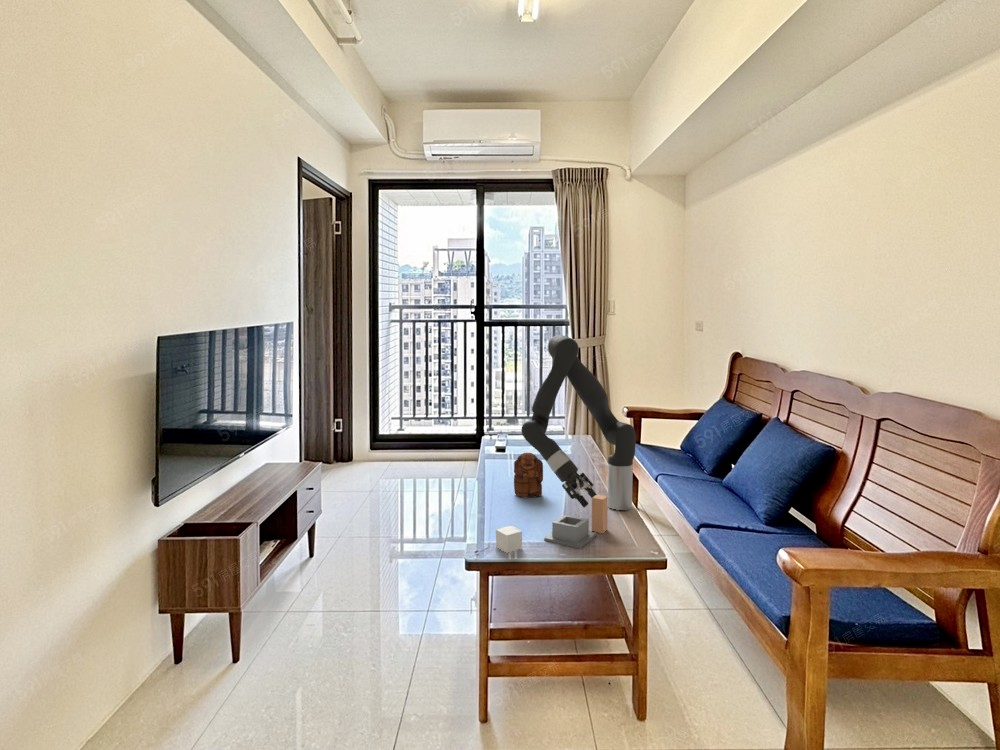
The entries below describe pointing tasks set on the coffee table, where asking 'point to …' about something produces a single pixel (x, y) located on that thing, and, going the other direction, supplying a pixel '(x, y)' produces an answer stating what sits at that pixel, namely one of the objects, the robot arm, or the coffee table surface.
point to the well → (570, 531)
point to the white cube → (508, 539)
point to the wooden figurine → (528, 475)
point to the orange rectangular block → (599, 513)
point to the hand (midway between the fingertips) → (591, 502)
